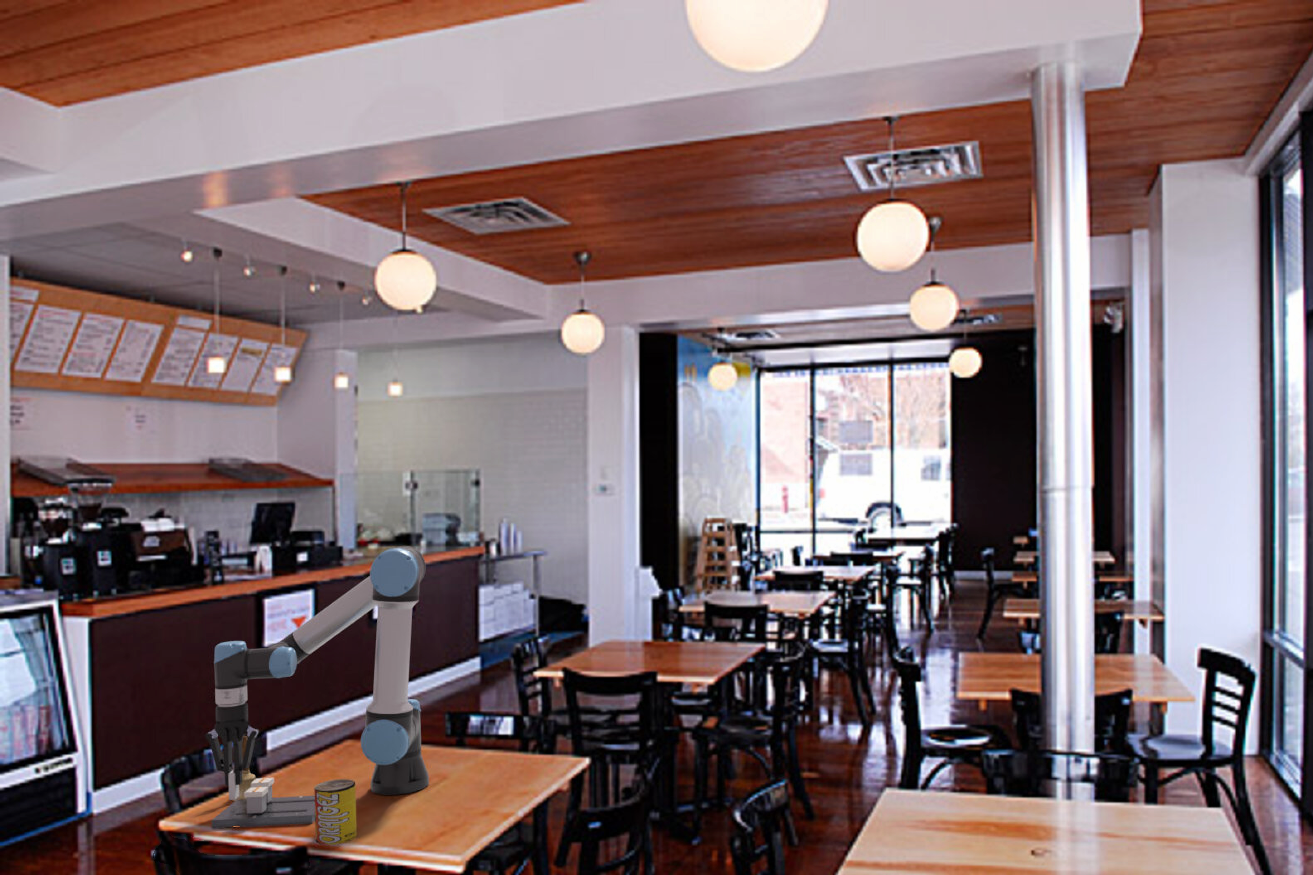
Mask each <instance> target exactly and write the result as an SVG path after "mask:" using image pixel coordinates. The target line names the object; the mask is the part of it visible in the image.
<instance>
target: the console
mask: <svg viewBox="0 0 1313 875" xmlns="http://www.w3.org/2000/svg"><path fill="white" fill-rule="evenodd" d="M314 822H315V795H301V796H300V795H299V796H281V797H280V796H279V797H272V800H271V801H270V802H268V803H266V810H265V811H263V812H262V813H248V814H247V799H238V800H236V801H235V802H234V801H233V802H232V803H231V804H230V805H228V806H227V807H226V808H225V809H223V811H221V812H220V813H219V814H217V815H216V816H215V817H214V818H212V819H211V830H212V829H214V830H215V829H227V828H226V827H233V826H240V827H239V828H250V827H251V828H254V827H268V826H269V827H270V826H271V827H272V826H273V827H274V826H288V825H289V826H291V825H290V824H293V825H309V824H311V825H312V824H313V823H314ZM223 827H225V828H223Z"/></svg>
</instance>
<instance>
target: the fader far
mask: <svg viewBox="0 0 1313 875" xmlns="http://www.w3.org/2000/svg"><path fill="white" fill-rule="evenodd" d="M274 783H275V777H265V776H264V777H261V778H256V779H255V780H254V781H253V782H252V783H251V788H254V787H258V786H260V787H268V792H267V793H266V803H268V802H270V801H271V800H272V798H273V784H274Z"/></svg>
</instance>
